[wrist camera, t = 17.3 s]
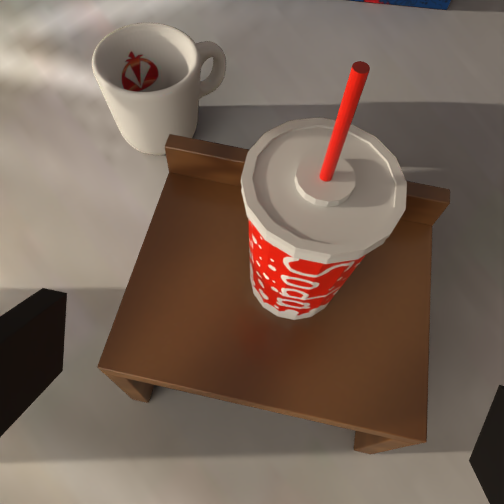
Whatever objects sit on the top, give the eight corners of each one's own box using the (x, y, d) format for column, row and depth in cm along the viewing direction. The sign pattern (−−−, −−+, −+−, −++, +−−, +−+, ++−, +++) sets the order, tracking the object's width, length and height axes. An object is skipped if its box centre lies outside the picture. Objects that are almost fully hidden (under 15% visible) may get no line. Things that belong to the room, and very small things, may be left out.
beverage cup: (217, 306, 24) (208, 107, 11) (261, 215, 26) (293, -27, 14) (328, 353, 23) (451, 193, 10) (362, 254, 25) (492, 33, 13)
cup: (201, 76, 44) (196, -3, 37) (248, 129, 41) (252, 54, 34) (98, 121, 41) (71, 44, 33) (142, 182, 38) (123, 112, 31)
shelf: (131, 399, 30) (82, 354, 20) (185, 232, 36) (169, 132, 26) (371, 454, 29) (449, 437, 19) (385, 274, 35) (450, 188, 25)
